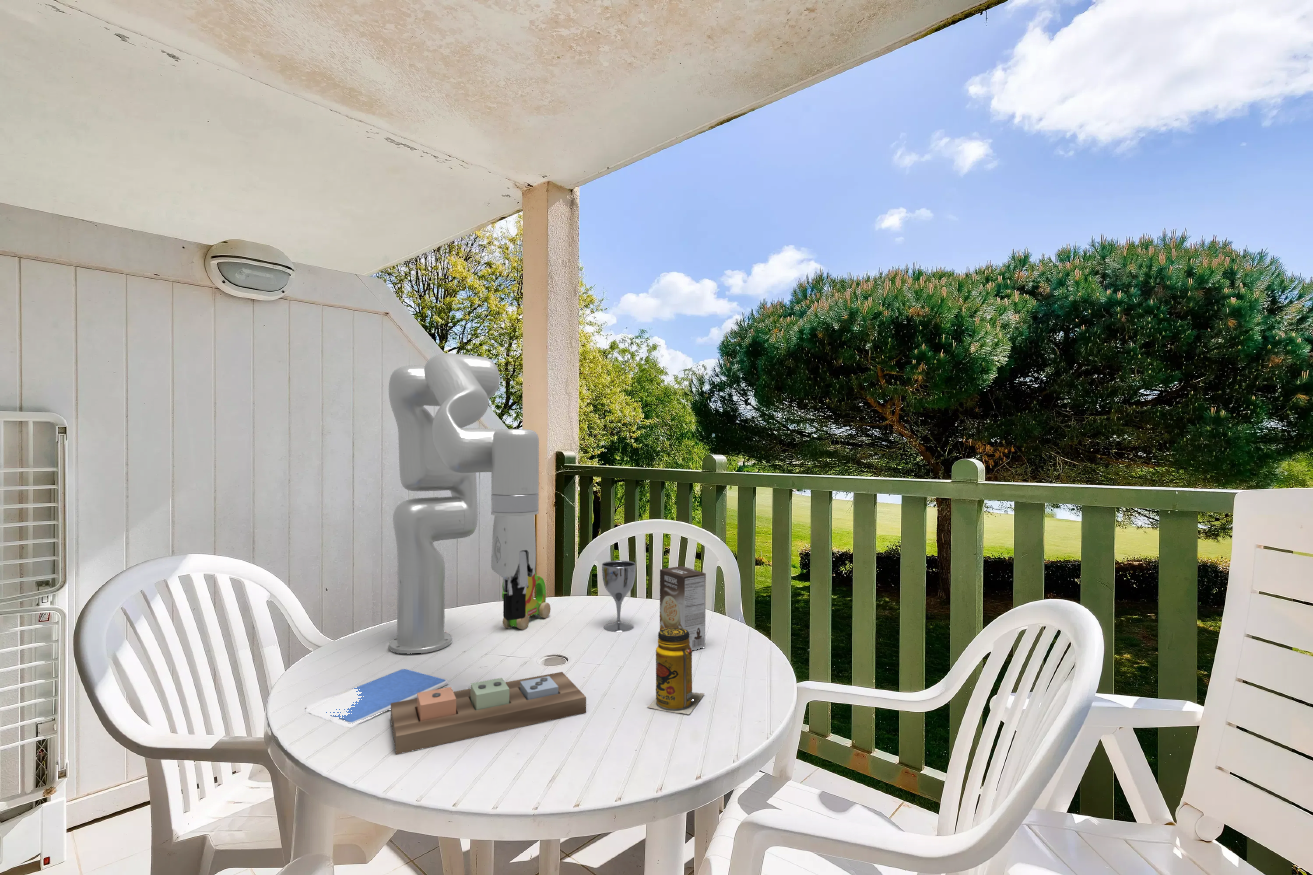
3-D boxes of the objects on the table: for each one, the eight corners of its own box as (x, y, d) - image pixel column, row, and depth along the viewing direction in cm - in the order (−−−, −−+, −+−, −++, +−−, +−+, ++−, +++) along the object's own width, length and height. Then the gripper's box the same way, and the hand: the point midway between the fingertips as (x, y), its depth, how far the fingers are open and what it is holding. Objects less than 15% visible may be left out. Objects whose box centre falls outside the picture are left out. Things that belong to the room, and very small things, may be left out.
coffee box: (658, 642, 129) (658, 568, 129) (681, 636, 133) (681, 565, 133) (683, 654, 122) (683, 576, 122) (707, 648, 125) (707, 572, 125)
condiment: (646, 708, 96) (646, 634, 97) (665, 688, 104) (665, 620, 104) (689, 715, 94) (689, 639, 94) (704, 695, 102) (704, 625, 102)
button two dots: (470, 702, 95) (470, 681, 95) (501, 695, 97) (502, 676, 97) (476, 714, 90) (476, 693, 90) (509, 707, 93) (509, 687, 93)
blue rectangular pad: (349, 732, 89) (349, 723, 89) (301, 713, 95) (301, 705, 95) (450, 687, 106) (450, 679, 106) (403, 673, 112) (403, 667, 112)
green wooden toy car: (533, 614, 151) (533, 554, 151) (551, 616, 149) (552, 556, 149) (495, 632, 136) (495, 566, 136) (515, 634, 134) (515, 567, 135)
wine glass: (606, 621, 144) (606, 560, 145) (638, 622, 143) (638, 560, 144) (598, 631, 137) (598, 566, 137) (632, 632, 135) (632, 567, 136)
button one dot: (417, 712, 91) (417, 691, 91) (450, 705, 93) (451, 685, 93) (420, 725, 86) (420, 703, 87) (456, 718, 89) (456, 697, 89)
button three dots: (520, 699, 98) (520, 680, 98) (549, 693, 101) (549, 674, 101) (528, 711, 94) (528, 691, 94) (558, 705, 96) (558, 685, 96)
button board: (390, 719, 92) (390, 702, 92) (562, 685, 105) (562, 671, 105) (396, 754, 82) (396, 736, 82) (586, 712, 95) (586, 696, 95)
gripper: (481, 502, 101) (480, 610, 100) (504, 510, 88) (503, 634, 87) (524, 500, 104) (523, 604, 104) (552, 508, 91) (552, 627, 91)
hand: (514, 617), depth 96 cm, fingers closed
